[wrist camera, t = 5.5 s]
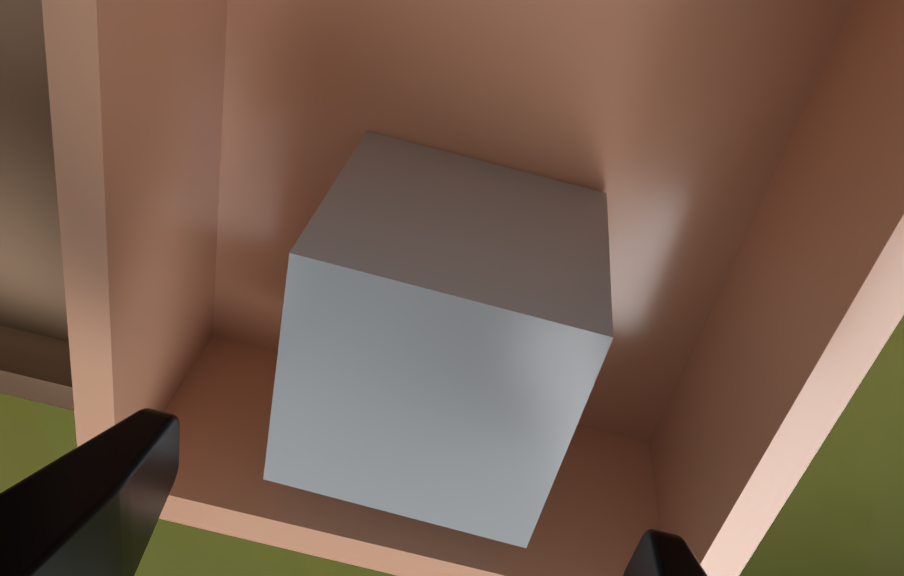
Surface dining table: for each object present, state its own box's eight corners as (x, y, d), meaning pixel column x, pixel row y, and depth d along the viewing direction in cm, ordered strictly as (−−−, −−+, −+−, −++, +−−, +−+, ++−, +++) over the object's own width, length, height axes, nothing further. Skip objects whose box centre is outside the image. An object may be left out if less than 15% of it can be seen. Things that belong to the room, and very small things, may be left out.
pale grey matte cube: (539, 377, 15) (526, 548, 12) (335, 324, 15) (263, 478, 12) (606, 193, 13) (613, 337, 9) (366, 130, 13) (289, 252, 10)
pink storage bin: (664, 449, 16) (694, 646, 13) (193, 336, 16) (81, 499, 13) (994, -232, 10) (1256, -246, 6) (216, -420, 10) (-4, -551, 6)
